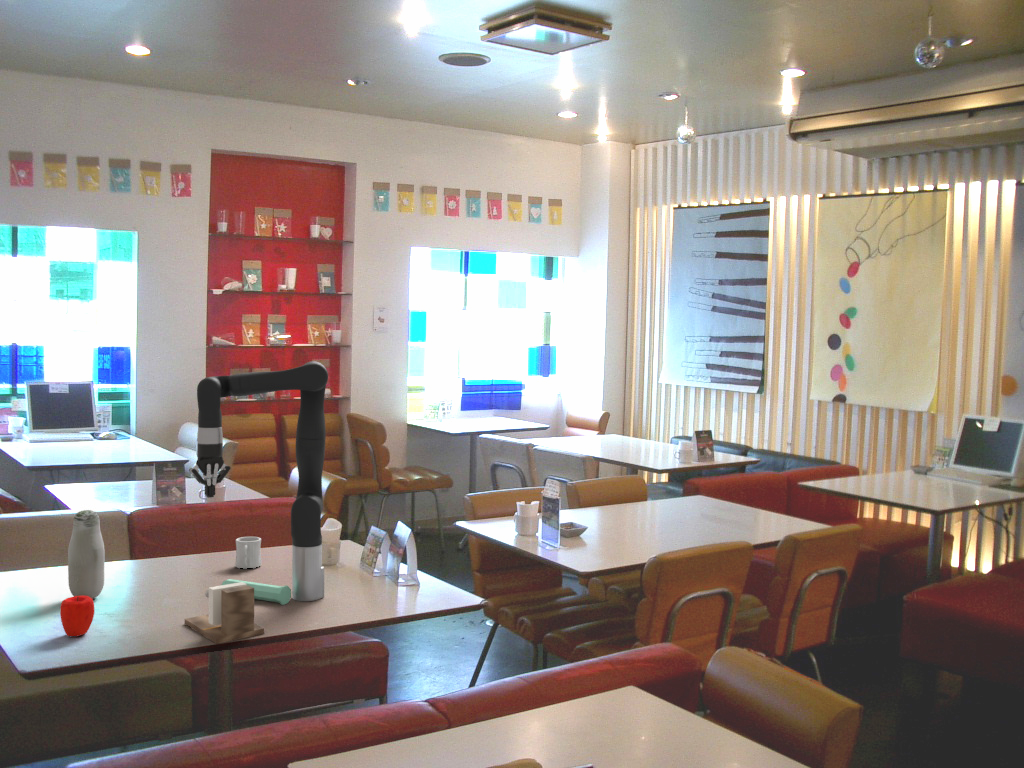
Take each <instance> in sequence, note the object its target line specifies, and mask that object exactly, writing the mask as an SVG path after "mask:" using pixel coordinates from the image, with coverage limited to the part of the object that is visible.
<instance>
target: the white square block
mask: <svg viewBox="0 0 1024 768" xmlns="http://www.w3.org/2000/svg"><path fill="white" fill-rule="evenodd" d="M242 586H247V584H245V583H243V582H239V583H233V584H227V585H221V584H220V585H215V586H210V587H208V590H209V598H208V614H209V623H210V624H212V625H218V624H221V590H225V589H231V588H236V587H242Z"/></svg>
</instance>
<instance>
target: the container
mask: <svg viewBox="0 0 1024 768" xmlns="http://www.w3.org/2000/svg"><path fill="white" fill-rule="evenodd" d="M239 582H243V583H245V584H247V586H248V585H249V586H251V587H253V588H254V600H260V601H265V602H266V601H267V602H272V603H277V604H278V603H279V604H280V605H282V606H283V605H287V604H289V602H290V600H291V598H292V588H290V586H289V585H283V586H281V585H275V584H267V583H260V582H254V581H246V580H241V579H234V578H233V579H232V578H229V579H225V580H223V581H222V582H221V584H220V586H221V585H227V584H233V583H239Z"/></svg>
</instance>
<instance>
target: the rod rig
mask: <svg viewBox="0 0 1024 768" xmlns="http://www.w3.org/2000/svg"><path fill="white" fill-rule="evenodd" d="M204 595H205V597H207V599H209V589H207V590H206V591H205V593H204ZM185 624H186V626H187V625H188V626H187V627H189V626H190V627H191V629H192V628H193V629H194V630H193V629H192V630H193V631H195V630H196V631H195V632H196V633H198V632H199V633H198V634H200V635H201V634H202V636H203V637H205V638H207V639H208V640H210V641H211V642H213V643H214V644H222V643H225V642H226V643H227V642H230V641H236V640H241V639H246V638H249V637H255V636H260V635H264V634H265V628H264V627H262V626H261V625H259V624H256V623H255V599H254V588H253V587H251V586H249V585H248V586H242V587H236V588H231V589H225V590H221V624H218V625H212V624H210V623H209V613H208V614H203V615H199V616H193V617H188V618H184V625H185ZM190 627H189V628H190Z"/></svg>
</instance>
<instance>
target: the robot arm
mask: <svg viewBox="0 0 1024 768" xmlns="http://www.w3.org/2000/svg"><path fill="white" fill-rule="evenodd" d="M328 381H329V373H328V370H327V368H326V366H325V365H324V364H323V363H321V362H318V361H314V360H312V361H311V360H310V361H308V362H306V363H304V364H303V365H301V366H298V367H293V368H288V369H285V370H284V369H283V370H272V371H271V370H270V371H268V370H267V371H254V372H253V371H250V372H242V373H235V374H231V375H217V376H216V375H214V376H207V377H205V378H203V379H201V380H200V381H199V382H198V385H197V388H196V397H197V398H196V399H197V407H198V409H197V410H198V414H197V416H198V417H197V423H198V424H197V433H196V434H197V436H196V437H197V438H196V444H197V446H196V447H197V448H196V449H197V453H196V455H197V460H196V462H195V465H194V466H193V467H190V468H189V470H188V472H189V473H191V475H192V476H193V477H194V479H195V480H196V482H198V484H202V485H203V486H204V495H205V496H206V498H208V499H209V498H211V499H212V498H215V497H214V496H215V495H216V485H217V484H220V483H222V482H223V480H224V479H225V477H226V476H227V475H228V473H229V472H230V470H231V466H229V465H227V464H226V463H225V461H224V459H223V454H224V452H223V451H224V446H223V445H224V443H223V439H224V438H223V413H222V410H221V398H228V397H247V396H255V395H260V394H267V393H275V392H279V391H280V392H281V391H282V392H283V391H293V390H294V391H300V392H299V393H300V395H299V396H300V404H299V405H300V408H299V412H298V419H297V423H296V432H295V433H296V434H295V459H296V460H295V462H296V465H297V466H296V467H297V471H298V473H297V475H298V482H297V483H298V484H297V485H298V486H297V492H296V498H295V500H294V501H293V503H292V505H291V508H290V525H291V526H290V533H291V535H290V536H291V539H292V540H291V541H292V543H291V544H292V545H291V547H292V548H291V549H292V550H291V551H292V552H291V553H292V556H291V557H292V558H291V561H292V562H291V563H292V564H291V567H292V569H291V571H292V572H291V576H292V577H291V579H292V582H291V584H292V585H291V598H292V600H293V601H298V602H311V601H312V602H313V601H317V600H321V599H322V598H325V567H324V566H323V536H322V530H321V529H322V525H321V524H322V522H321V521H322V520H321V519H322V517H321V516H322V513H323V511H324V501H323V482H322V481H323V470H324V463H325V455H326V454H325V453H326V433H327V432H326V419H325V417H326V416H325V407H324V406H325V404H324V403H325V395H326V389H327V388H326V387H327V384H328ZM199 472H201V474H202V475H201V474H200V473H199Z"/></svg>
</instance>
